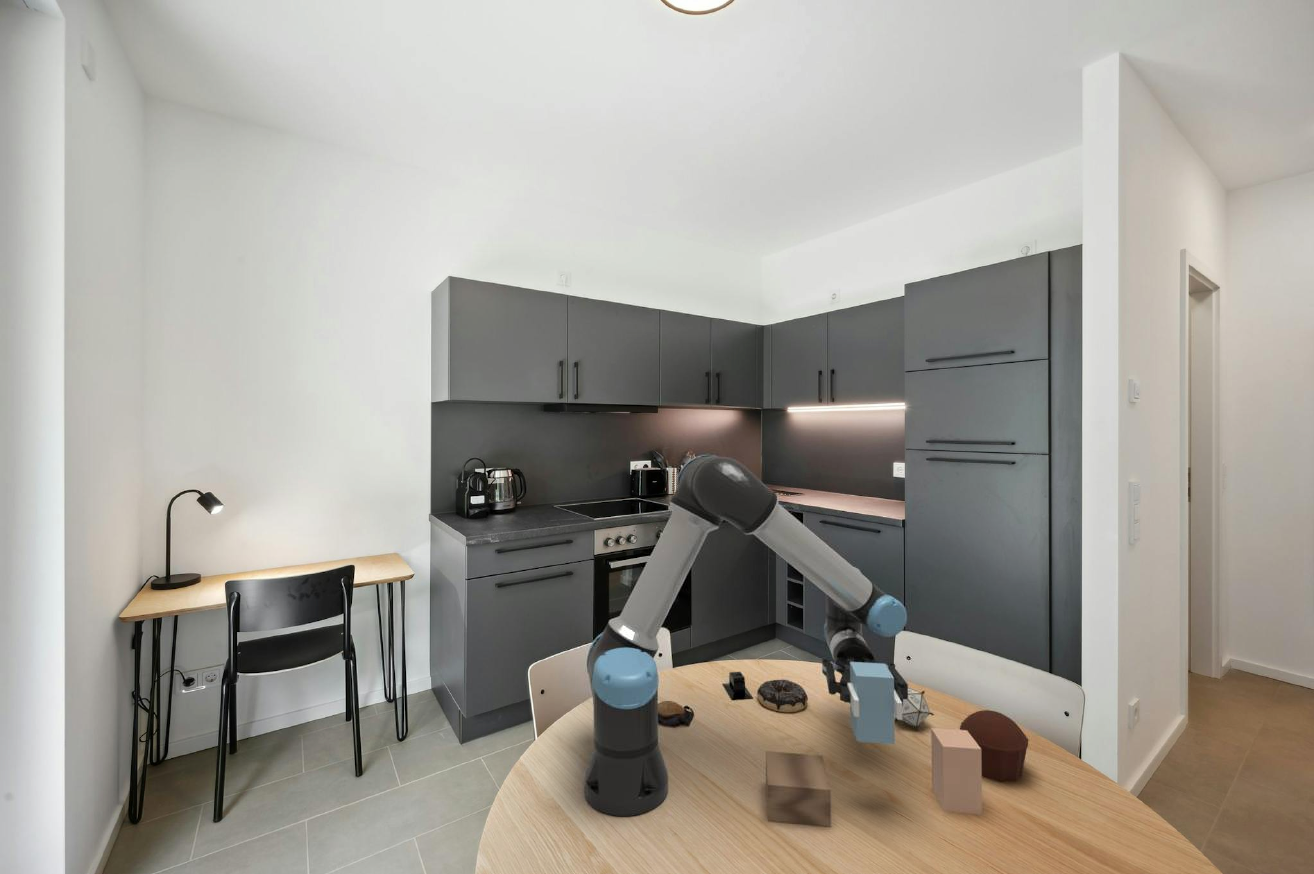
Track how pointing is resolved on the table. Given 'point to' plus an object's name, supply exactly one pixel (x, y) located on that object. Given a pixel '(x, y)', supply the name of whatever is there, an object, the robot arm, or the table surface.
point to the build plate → (737, 687)
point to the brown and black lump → (674, 714)
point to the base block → (797, 789)
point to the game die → (914, 708)
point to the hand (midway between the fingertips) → (878, 709)
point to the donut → (782, 696)
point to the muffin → (998, 744)
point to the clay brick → (956, 771)
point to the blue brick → (873, 702)
